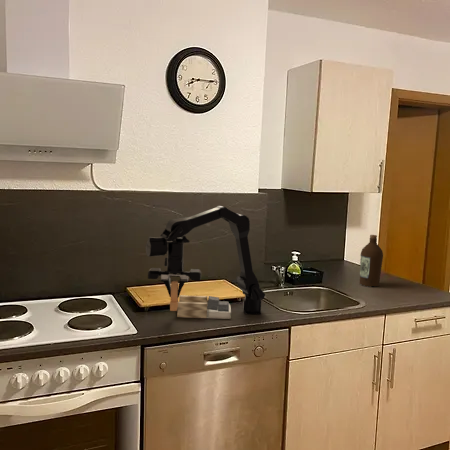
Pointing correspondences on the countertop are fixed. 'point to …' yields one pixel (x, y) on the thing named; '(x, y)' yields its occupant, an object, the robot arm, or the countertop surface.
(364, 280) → the olive oil
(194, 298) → the rail
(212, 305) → the grey cube
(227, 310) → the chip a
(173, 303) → the rake tool
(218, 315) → the tray
